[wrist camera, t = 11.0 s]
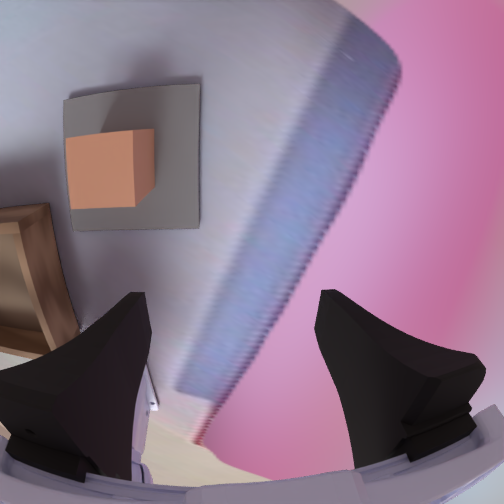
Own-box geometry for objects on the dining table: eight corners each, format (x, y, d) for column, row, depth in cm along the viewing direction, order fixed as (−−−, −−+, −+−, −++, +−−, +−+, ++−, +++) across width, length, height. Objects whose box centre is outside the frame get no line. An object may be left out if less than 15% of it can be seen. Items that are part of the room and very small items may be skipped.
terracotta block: (154, 186, 19) (135, 206, 14) (102, 189, 19) (71, 209, 14) (154, 128, 17) (132, 130, 13) (99, 133, 17) (65, 138, 12)
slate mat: (199, 226, 21) (198, 228, 21) (75, 229, 20) (72, 231, 19) (200, 84, 17) (199, 83, 16) (66, 100, 16) (63, 100, 15)
